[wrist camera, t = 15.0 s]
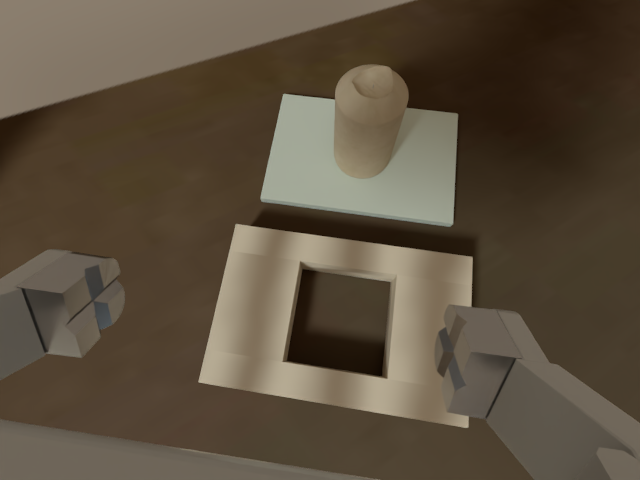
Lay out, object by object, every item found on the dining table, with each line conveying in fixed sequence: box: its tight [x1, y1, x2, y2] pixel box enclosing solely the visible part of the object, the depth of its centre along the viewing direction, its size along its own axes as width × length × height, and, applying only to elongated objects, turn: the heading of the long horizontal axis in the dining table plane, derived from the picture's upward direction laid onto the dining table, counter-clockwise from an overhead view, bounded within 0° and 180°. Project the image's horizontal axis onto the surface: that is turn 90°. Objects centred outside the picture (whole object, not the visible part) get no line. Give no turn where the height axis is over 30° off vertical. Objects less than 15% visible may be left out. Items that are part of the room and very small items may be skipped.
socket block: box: [199, 224, 473, 428], centre depth 30 cm, size 20×13×3 cm, turn 81°
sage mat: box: [261, 94, 458, 227], centre depth 35 cm, size 18×12×1 cm, turn 81°
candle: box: [334, 64, 409, 179], centre depth 30 cm, size 6×6×10 cm
